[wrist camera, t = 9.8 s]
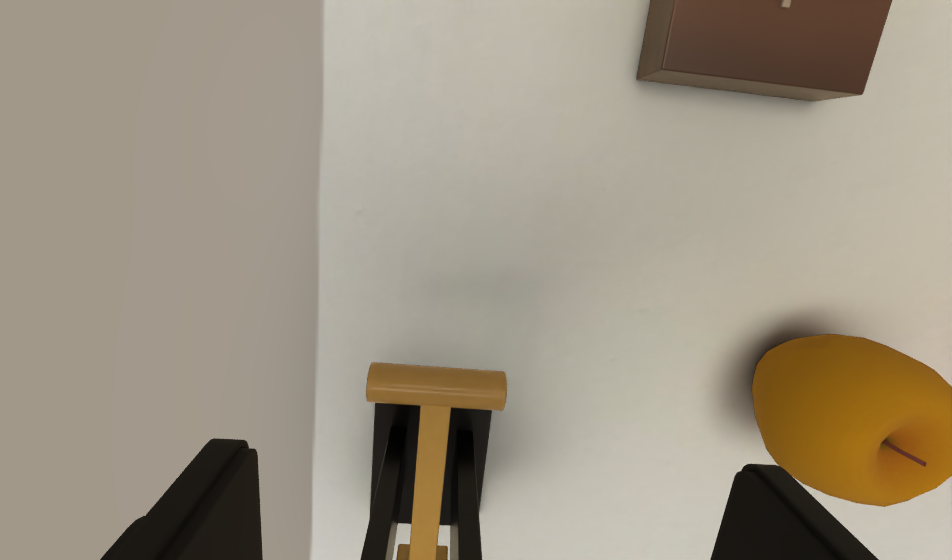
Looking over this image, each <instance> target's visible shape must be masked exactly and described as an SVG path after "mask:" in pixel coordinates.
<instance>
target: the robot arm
mask: <svg viewBox="0 0 952 560" xmlns="http://www.w3.org/2000/svg"><path fill="white" fill-rule="evenodd" d="M261 539H262V538H261V517H260V497H259V475H258V455H257V451H256V450H255V449H249V447H248V443H247V441H245V440H235V439H234V440H233V439H211V440H210V441H209V442H208V443H207V444H206V445H205V446H204V447H203V449H202V450H201V451H200V452H199V453H198V455H197V456H196V457H195V458H194V459H193V461H191V463H190V464H189V465H188V466H187V467H186V468H185V470H184V471H183V472H182V474H180V476H179V477H178V478H177V479H176V480H175V482H174V483H173V484H172V485H171V486H170V487H169V489H168V490H167V491H166V492H165V493H164V495H163V496H162V497H161V498H160V499H159V501H158V502H157V503H156V504H155V505H154V506H153V507H152V509H151V510H150V511H149V512H148V513H147V515H146V516H143V517H141V518H139V519H137V520H136V521H134V522H133V523H132V524H131V525H130V526H129V527H128V528H127V529H126V530H125V532H124V533H123V534H122V535H121V536H120V537H119V538H118V540H117V541H116V542H115V543H114V544H113V545H112V547H111V548H110V549H109V550H108V551H107V552H106V553H105V555H104V556H103V557H102V558H101V559H100V560H263V559H262V540H261ZM711 560H878V559H877V558H876V557H875V556H874V555H873V554H872V553H871V552H870V551H869V550H868V549H867V548H866V547H865V546H864V545H863V544H862V543H861V542H860V541H859V540H858V539H857V538H855V537H854V536H853V535H852V534H851V533H850V532H849V531H848V530H847V529H846V528H845V527H844V526H843V525H842V524H841V523H840V522H839V521H838V520H837V519H836V518H835V517H834V516H833V515H832V514H830V513H829V512H828V511H827V510H826V509H825V508H824V507H823V506H822V505H821V504H820V503H819V502H818V501H817V500H816V499H815V498H814V497H813V496H812V495H811V494H810V493H809V492H808V491H807V490H805V489H804V488H803V487H802V486H801V485H800V484H799V483H798V482H797V481H796V480H795V479H794V478H793V477H792V476H791V475H790V474H789V473H788V472H787V471H786V470H784V469H783V468H782V467H780V466H777V465H763V464H747V465H745V466H744V467H743V469H742V471H740V472H738V473H737V474H736V475H735V477H734V481H733V484H732V488H731V491H730V495H729V498H728V501H727V505H726V508H725V512H724V515H723V519H722V522H721V525H720V529H719V532H718V536H717V539H716V543H715V546H714V550H713V553H712V556H711Z"/></svg>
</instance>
